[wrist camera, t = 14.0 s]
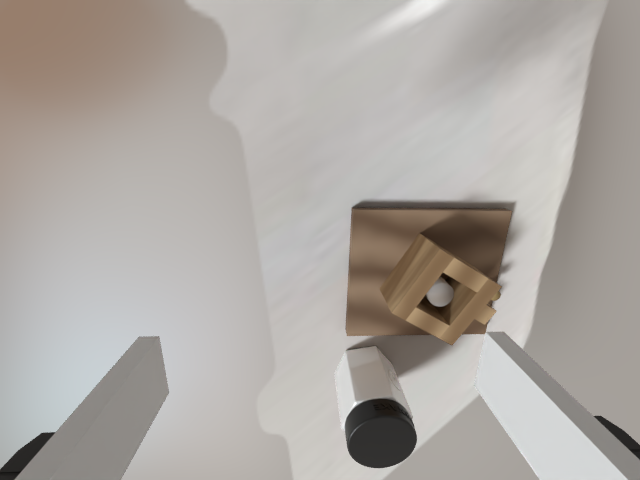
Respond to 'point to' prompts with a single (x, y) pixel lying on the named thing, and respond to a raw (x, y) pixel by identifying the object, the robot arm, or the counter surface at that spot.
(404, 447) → the jar
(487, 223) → the jig
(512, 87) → the counter surface
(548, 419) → the robot arm
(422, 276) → the wooden square frame
